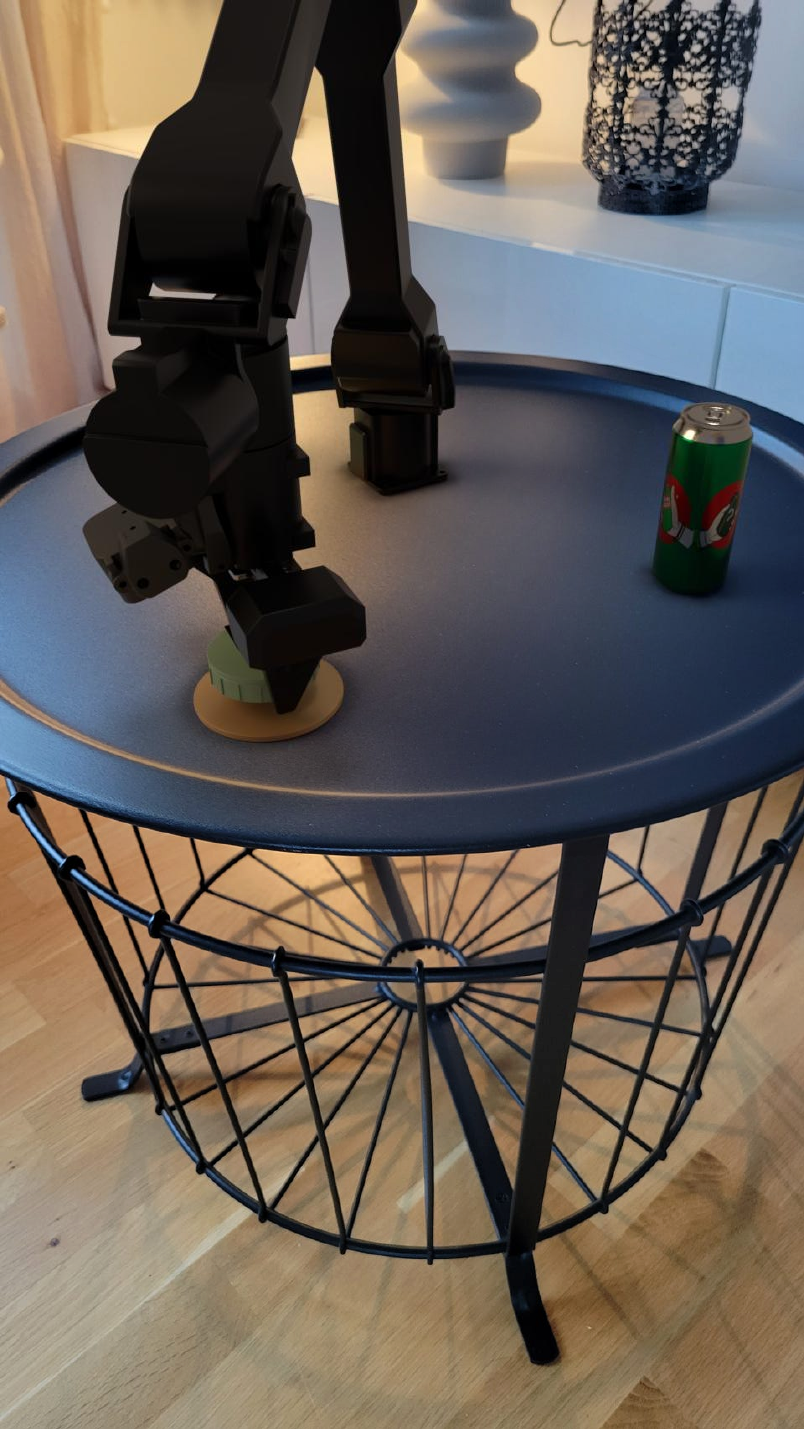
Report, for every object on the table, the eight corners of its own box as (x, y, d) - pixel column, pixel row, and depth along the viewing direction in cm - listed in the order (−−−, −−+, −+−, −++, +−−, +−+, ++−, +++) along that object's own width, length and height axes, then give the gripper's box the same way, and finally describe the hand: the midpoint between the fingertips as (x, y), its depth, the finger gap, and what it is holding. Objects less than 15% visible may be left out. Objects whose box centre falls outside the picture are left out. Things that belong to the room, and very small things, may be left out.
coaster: (305, 640, 69) (305, 635, 68) (369, 712, 62) (369, 706, 62) (173, 680, 65) (172, 675, 65) (227, 760, 59) (226, 755, 59)
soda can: (727, 568, 75) (759, 404, 68) (720, 603, 71) (753, 433, 64) (656, 558, 77) (680, 396, 69) (645, 591, 73) (669, 424, 66)
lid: (216, 711, 59) (212, 687, 58) (205, 650, 64) (201, 627, 63) (328, 693, 61) (326, 669, 60) (309, 634, 66) (307, 612, 65)
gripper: (48, 397, 58) (101, 636, 67) (119, 541, 44) (174, 816, 54) (243, 366, 61) (267, 597, 71) (365, 491, 48) (375, 757, 57)
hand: (267, 681), depth 63 cm, fingers closed on lid, 6 cm apart
